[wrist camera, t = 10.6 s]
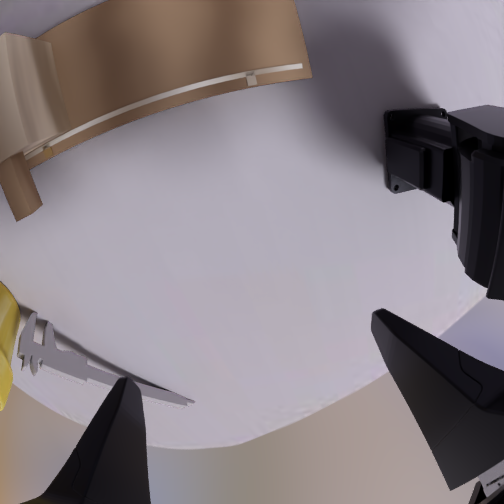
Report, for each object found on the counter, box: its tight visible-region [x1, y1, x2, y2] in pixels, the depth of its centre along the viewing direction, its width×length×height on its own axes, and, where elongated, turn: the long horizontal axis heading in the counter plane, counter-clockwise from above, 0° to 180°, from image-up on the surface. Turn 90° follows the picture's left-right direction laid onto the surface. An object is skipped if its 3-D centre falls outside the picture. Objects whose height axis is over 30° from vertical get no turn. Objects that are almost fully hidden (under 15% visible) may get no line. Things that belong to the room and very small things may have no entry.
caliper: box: [17, 312, 195, 409], centre depth 23 cm, size 20×1×6 cm, turn 42°
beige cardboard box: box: [0, 32, 72, 222], centre depth 10 cm, size 4×9×5 cm, turn 12°
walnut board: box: [24, 0, 313, 170], centre depth 12 cm, size 20×8×2 cm, turn 102°
